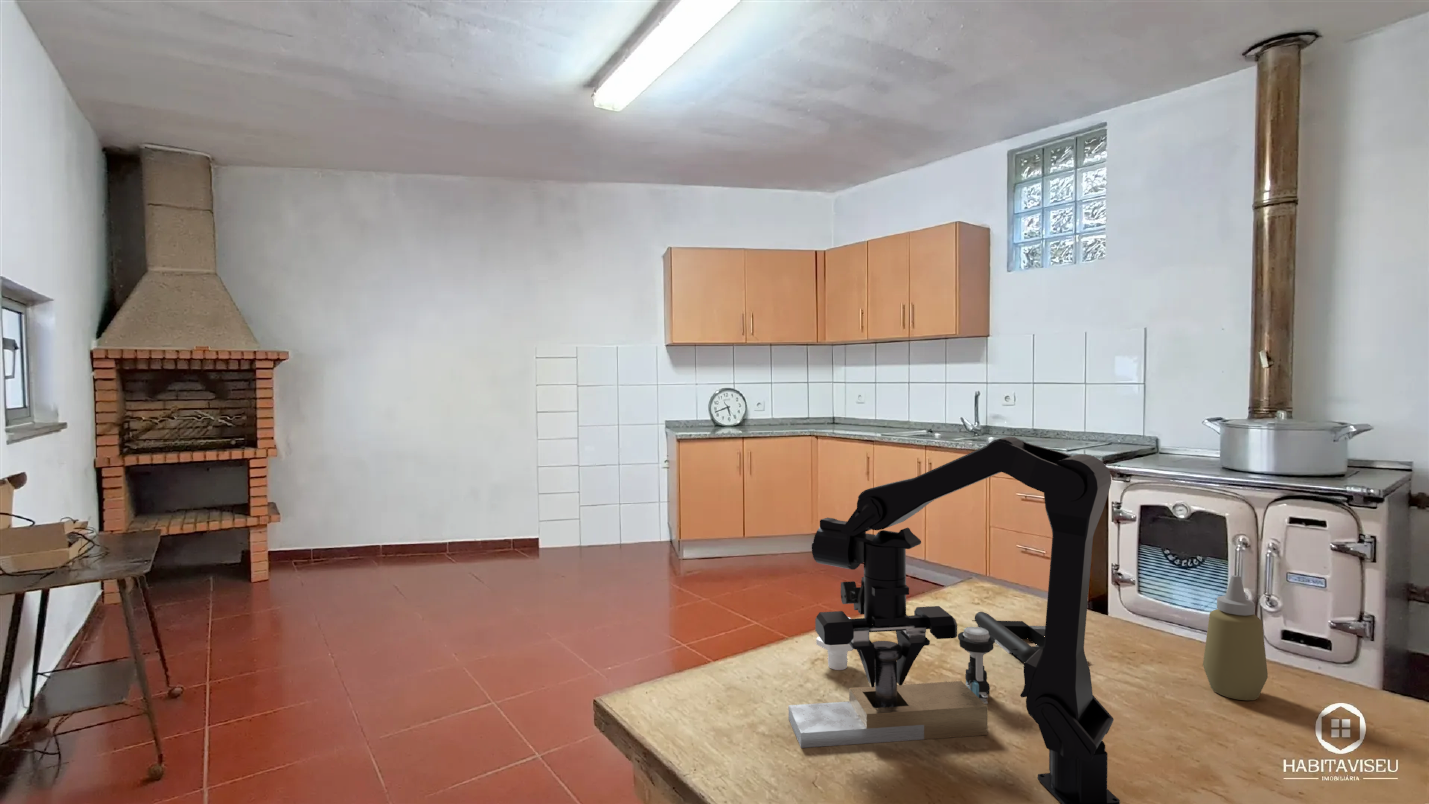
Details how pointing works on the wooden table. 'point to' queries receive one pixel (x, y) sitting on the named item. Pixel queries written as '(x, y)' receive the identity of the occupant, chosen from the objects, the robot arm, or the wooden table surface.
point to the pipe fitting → (836, 654)
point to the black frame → (1013, 635)
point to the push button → (976, 659)
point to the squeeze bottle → (1235, 646)
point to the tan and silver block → (892, 716)
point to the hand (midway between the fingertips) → (885, 685)
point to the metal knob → (886, 673)
